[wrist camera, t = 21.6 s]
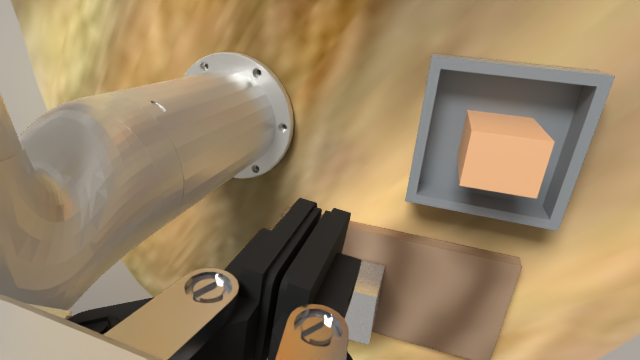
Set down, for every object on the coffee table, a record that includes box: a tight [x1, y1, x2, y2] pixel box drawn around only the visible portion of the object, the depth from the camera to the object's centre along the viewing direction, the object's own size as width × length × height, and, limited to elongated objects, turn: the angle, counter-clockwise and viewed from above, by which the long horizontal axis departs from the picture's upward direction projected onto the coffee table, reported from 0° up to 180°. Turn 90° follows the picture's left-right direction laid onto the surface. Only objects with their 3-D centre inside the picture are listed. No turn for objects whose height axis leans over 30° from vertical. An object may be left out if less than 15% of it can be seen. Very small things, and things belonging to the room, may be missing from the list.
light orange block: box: [457, 110, 554, 199], centre depth 29 cm, size 5×4×7 cm
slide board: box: [282, 208, 522, 360], centre depth 39 cm, size 23×12×5 cm, turn 85°
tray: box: [405, 53, 615, 231], centre depth 31 cm, size 12×12×4 cm
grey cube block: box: [345, 261, 385, 345], centre depth 38 cm, size 6×6×5 cm
